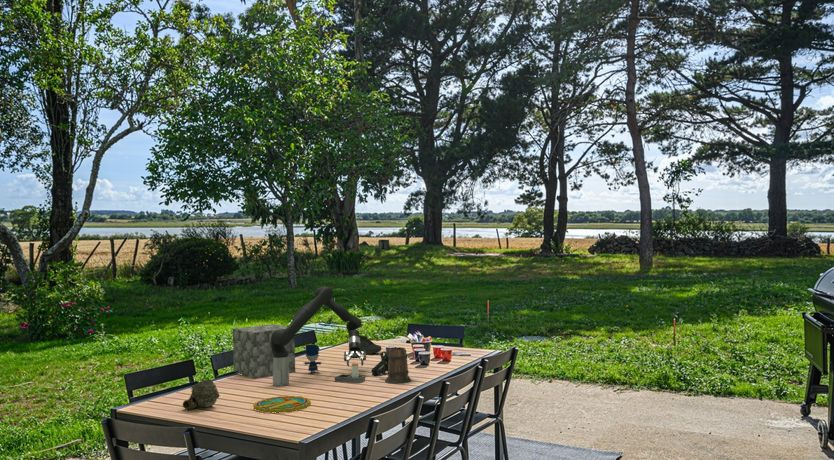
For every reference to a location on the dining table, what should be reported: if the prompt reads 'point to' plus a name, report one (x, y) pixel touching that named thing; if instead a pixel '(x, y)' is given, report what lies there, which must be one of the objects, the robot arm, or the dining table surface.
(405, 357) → the tankard
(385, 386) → the dining table surface
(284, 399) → the decorative plaque
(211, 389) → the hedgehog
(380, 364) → the toy gun
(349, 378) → the divided rectangular frame
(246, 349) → the block
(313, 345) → the figurine
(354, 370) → the two-tone square post
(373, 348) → the running shoe
